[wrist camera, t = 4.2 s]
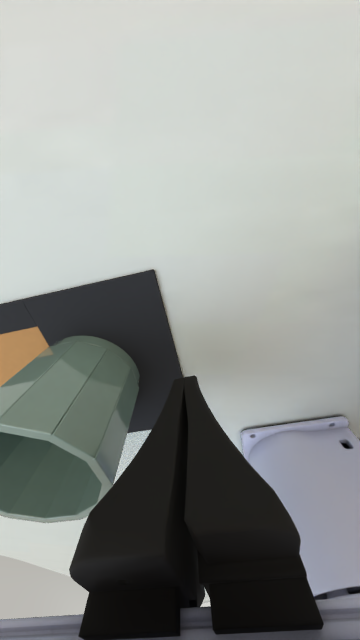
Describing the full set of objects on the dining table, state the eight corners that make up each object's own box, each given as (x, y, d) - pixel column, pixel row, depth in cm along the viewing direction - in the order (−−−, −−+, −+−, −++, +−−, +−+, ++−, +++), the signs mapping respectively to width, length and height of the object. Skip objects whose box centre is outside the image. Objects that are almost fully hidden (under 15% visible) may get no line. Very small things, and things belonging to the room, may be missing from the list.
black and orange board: (154, 269, 12) (153, 270, 11) (194, 420, 17) (194, 423, 17) (-112, 329, 13) (-119, 331, 13) (2, 449, 19) (-1, 452, 19)
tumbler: (121, 325, 13) (64, 411, 7) (151, 403, 16) (132, 514, 10) (23, 345, 14) (-116, 441, 7) (69, 416, 17) (0, 528, 10)
